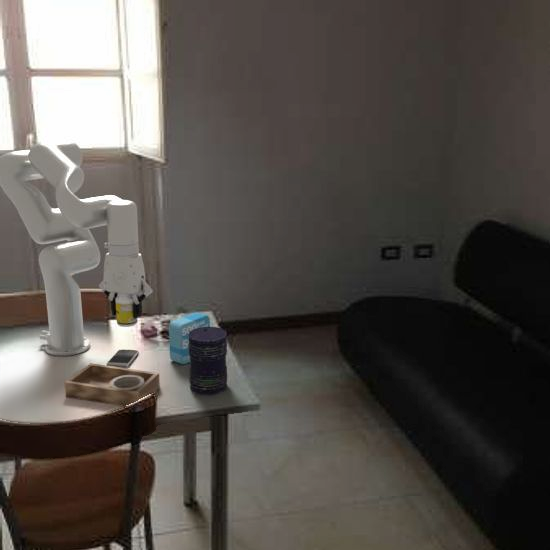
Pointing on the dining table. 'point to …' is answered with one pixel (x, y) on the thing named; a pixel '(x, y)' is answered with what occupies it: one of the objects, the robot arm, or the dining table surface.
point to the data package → (184, 335)
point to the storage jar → (208, 360)
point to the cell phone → (123, 358)
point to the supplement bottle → (125, 310)
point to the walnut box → (111, 384)
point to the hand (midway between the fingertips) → (126, 314)
